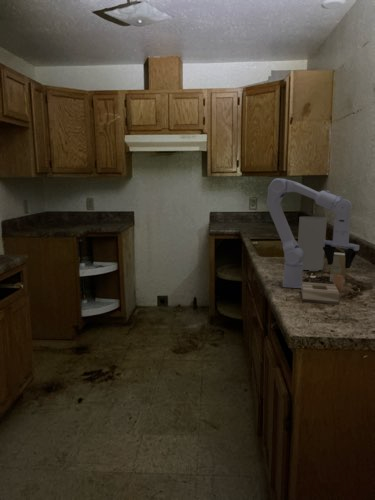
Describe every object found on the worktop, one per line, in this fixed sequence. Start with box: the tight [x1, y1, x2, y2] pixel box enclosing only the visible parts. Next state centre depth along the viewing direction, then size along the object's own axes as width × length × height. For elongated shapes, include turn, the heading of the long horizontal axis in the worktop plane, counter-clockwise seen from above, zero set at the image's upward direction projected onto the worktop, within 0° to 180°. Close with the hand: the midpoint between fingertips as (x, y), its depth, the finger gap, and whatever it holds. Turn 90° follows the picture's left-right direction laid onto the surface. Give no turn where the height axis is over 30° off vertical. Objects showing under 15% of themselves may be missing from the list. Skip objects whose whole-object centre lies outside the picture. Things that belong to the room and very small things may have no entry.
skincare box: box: [329, 252, 347, 284], centre depth 162 cm, size 6×4×12 cm
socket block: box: [300, 281, 341, 305], centre depth 140 cm, size 12×12×4 cm
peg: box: [332, 275, 344, 293], centre depth 149 cm, size 4×4×6 cm
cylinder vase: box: [297, 216, 328, 272], centre depth 184 cm, size 12×12×25 cm
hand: (338, 266), depth 147 cm, fingers open, 7 cm apart
